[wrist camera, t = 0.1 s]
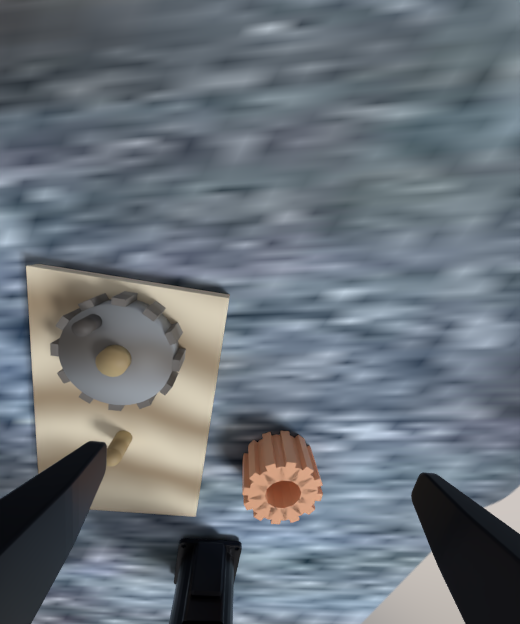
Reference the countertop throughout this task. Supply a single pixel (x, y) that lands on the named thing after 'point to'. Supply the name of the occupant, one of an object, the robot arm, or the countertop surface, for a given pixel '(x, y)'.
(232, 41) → the countertop surface
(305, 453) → the coral gear
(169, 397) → the gear board
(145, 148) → the countertop surface
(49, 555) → the robot arm
